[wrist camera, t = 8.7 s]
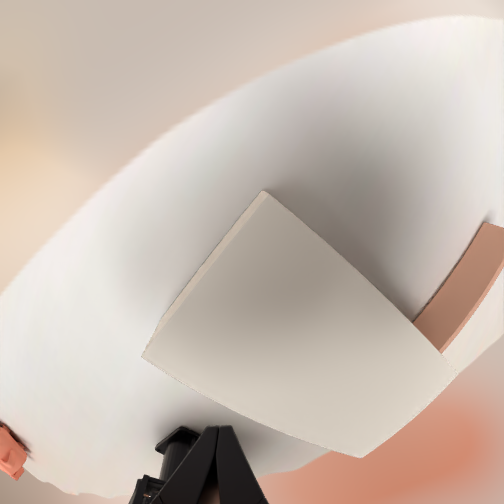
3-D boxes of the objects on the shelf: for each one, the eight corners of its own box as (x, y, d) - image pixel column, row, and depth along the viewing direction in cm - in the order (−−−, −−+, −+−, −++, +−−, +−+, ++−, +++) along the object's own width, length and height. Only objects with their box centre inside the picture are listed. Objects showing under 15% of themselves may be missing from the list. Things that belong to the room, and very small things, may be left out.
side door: (411, 324, 21) (438, 351, 16) (484, 222, 18) (517, 232, 14) (415, 329, 21) (442, 355, 16) (487, 228, 19) (520, 239, 14)
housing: (347, 424, 24) (361, 458, 19) (160, 319, 20) (141, 356, 15) (432, 345, 22) (458, 373, 17) (261, 190, 18) (269, 193, 13)
